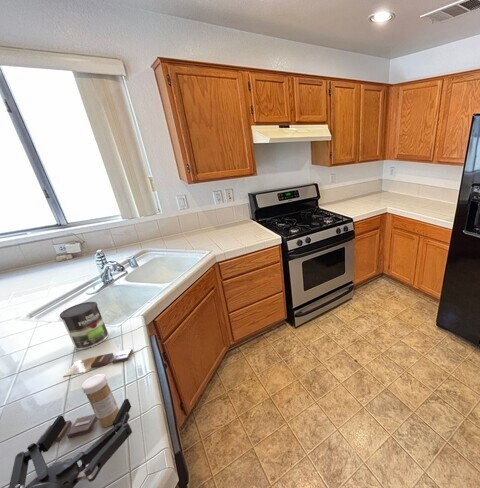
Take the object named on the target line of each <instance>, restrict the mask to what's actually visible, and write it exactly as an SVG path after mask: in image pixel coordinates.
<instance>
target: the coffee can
mask: <svg viewBox="0 0 480 488" xmlns="http://www.w3.org/2000/svg"><path fill="white" fill-rule="evenodd" d="M59 317H60V319H61V321H62V323H63V325H64V327H65V329H66V331H67V333H68V336H69V338H70V340H71V343H72V344H73V347H74V350H77V351H78V350H79V351H81V350H87V349H90V347H91V348H94V347H96V346H97V345H99V344H101V343H103V342H104V341H106V340H107V339H108V337H109V335H110V334H109V332H108V329H107V327H106V325H105V321H104V318H103V317H102V314H101V311H100V309H99V307H98V303H97V301H86V302H85V301H84V302H81V303H77V304H74V305H72V306H70V307H68V308H66V309H64V310H63V311H61V312H60V313H59ZM95 345H96V346H95Z"/></svg>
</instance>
